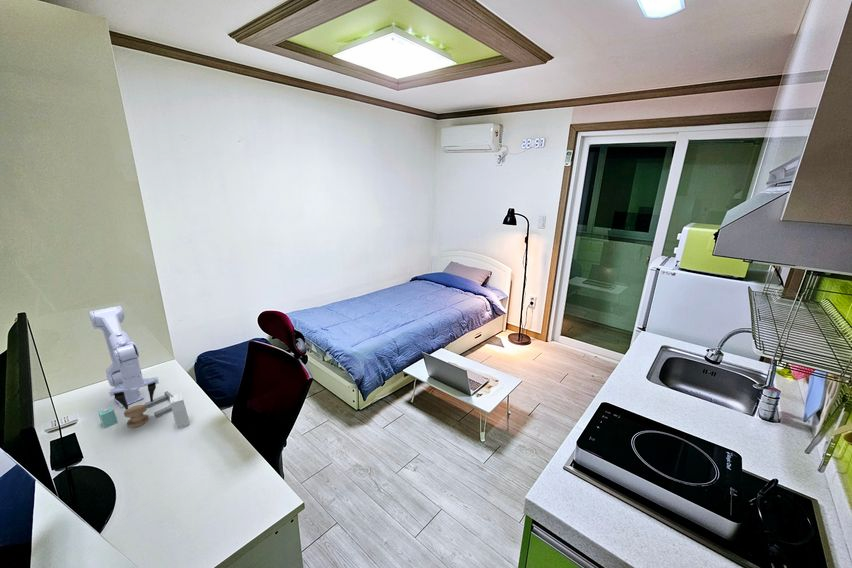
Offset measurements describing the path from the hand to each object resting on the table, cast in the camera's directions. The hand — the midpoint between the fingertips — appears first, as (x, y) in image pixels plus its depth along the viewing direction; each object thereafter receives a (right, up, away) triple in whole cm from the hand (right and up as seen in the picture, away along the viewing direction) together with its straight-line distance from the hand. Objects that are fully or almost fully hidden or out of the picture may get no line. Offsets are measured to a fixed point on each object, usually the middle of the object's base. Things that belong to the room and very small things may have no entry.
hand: (139, 404), depth 135 cm
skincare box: (+14, -9, +5) cm, 17 cm away
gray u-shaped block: (-2, -6, +13) cm, 15 cm away
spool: (-4, -9, +5) cm, 11 cm away
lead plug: (-15, -9, +3) cm, 18 cm away
